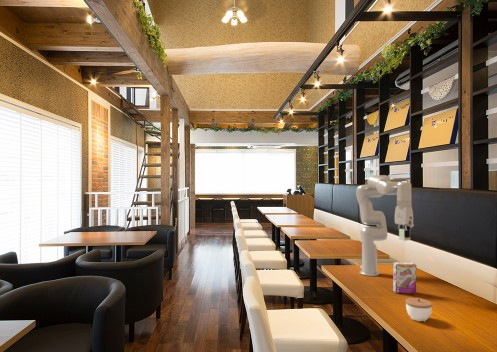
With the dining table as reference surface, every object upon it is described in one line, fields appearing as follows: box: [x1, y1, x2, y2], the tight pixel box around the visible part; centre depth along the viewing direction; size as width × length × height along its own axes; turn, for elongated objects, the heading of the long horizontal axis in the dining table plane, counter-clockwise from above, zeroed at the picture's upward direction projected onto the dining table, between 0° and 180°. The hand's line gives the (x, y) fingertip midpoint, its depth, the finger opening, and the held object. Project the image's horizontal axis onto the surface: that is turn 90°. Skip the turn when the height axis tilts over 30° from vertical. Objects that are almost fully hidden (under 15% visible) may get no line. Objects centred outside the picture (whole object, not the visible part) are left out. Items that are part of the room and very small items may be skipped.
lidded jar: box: [405, 297, 433, 322], centre depth 157 cm, size 11×11×9 cm
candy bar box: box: [392, 261, 417, 295], centre depth 195 cm, size 11×5×16 cm, turn 84°
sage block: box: [398, 228, 411, 242], centre depth 196 cm, size 4×4×6 cm
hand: (404, 236), depth 196 cm, fingers closed on sage block, 3 cm apart
